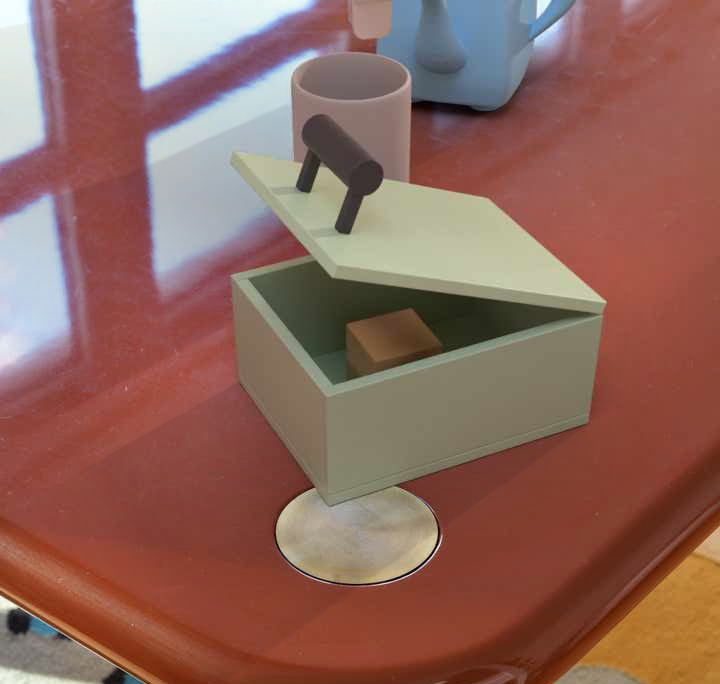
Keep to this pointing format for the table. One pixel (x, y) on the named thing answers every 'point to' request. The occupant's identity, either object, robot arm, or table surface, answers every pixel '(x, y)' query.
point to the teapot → (466, 46)
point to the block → (388, 343)
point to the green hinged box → (404, 376)
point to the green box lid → (405, 227)
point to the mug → (357, 105)
